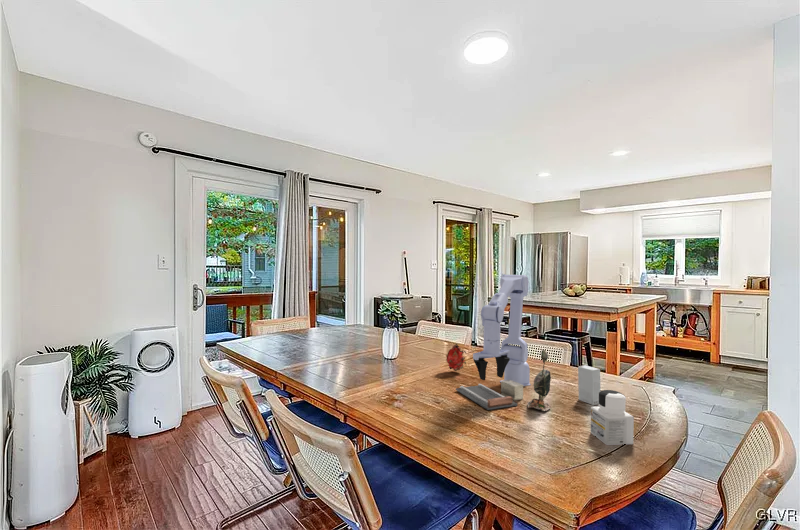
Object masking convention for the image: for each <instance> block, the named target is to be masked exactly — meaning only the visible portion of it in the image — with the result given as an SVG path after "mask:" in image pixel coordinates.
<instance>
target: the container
mask: <svg viewBox="0 0 800 530" xmlns="http://www.w3.org/2000/svg"><path fill="white" fill-rule="evenodd" d="M626 403H627V402H626V396H625V394H624V393H622V392H620V391H617V390H612V389H604V390H601V391H600V392H599V404H598V406H591V407H590V434H591V435H593V436H594V437H595V436H596V437H595V438H596V439H598V440H599V441H600V442H602V443H603V444H605V445H606V446H624V444H626V445H634V431H635V430H634V423H635V422H634V421H635V418H634V416H633V415H631V414H630V413H628V412H626V405H627V404H626ZM622 444H623V445H622Z"/></svg>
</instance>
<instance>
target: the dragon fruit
mask: <svg viewBox="0 0 800 530" xmlns="http://www.w3.org/2000/svg"><path fill="white" fill-rule="evenodd" d="M464 353H465V354H467V351H466V350H461V347H460V346H459V344H457V343H456V344H455V345H453V346H452V347H451V349H449V350H448V352H447V354H446V356H445V357H446V360H445V361H446V363H447V364H448V369H449V370H452V369H453V371H454V372H457V371H461V369H463V368H464V365H466V364H467V362H466V360H465V358H466V357H465V356H463V354H464Z"/></svg>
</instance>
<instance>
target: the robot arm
mask: <svg viewBox="0 0 800 530" xmlns="http://www.w3.org/2000/svg"><path fill="white" fill-rule="evenodd" d="M499 285H500V288H499V290H498V292H496V293H494V294H493V296H492V297H491V299H490V301H489V302H488V304H485V305H484V306H482V308H481V312H480V317H481V322H482V323H481V325H482V327H483V343H482V344H483V350H482V351H478V352H474V353H472V359H473V362H474V363H475V367H476V368H477V371H478V376H479V380H481V381H486V378H487V376H486V375H487V374H486V373H487V367H488V364H489V362H488V361H486V359H491V358H495V363H496V374H497V377H498V378H503V376H504V378H503V379H504V380H512V381H514V382H517V383H520V384H522V385H523V387H526V386H531V385H532V384H531V381H530V376H531V375H530V374H531V372H530V371H531V369H530V365H529V363H528V362H527V361H528V357H529V350H528V347H529V346H528V343H527V342H526V341H525V340H524V339H523V338H522V322H523V321H522V320H523V305H524V304H523V303H524V298H525V297H527V296H528V295H529V294H528V293H529V286H530V285H529V277H528V276H527V275H526V274H505V273H503V274H502V275H501V276H500V279H499ZM508 298H510V303H509V299H508ZM508 303H509V304H510V306H509V321H508V336H507V337H506V338H505V339H503V340H502V341H501V323H502V322H503V319H504V314H505V309H506V307H507V306H508ZM503 379H502V380H499V382H500V383H501V381H504V380H503Z"/></svg>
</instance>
